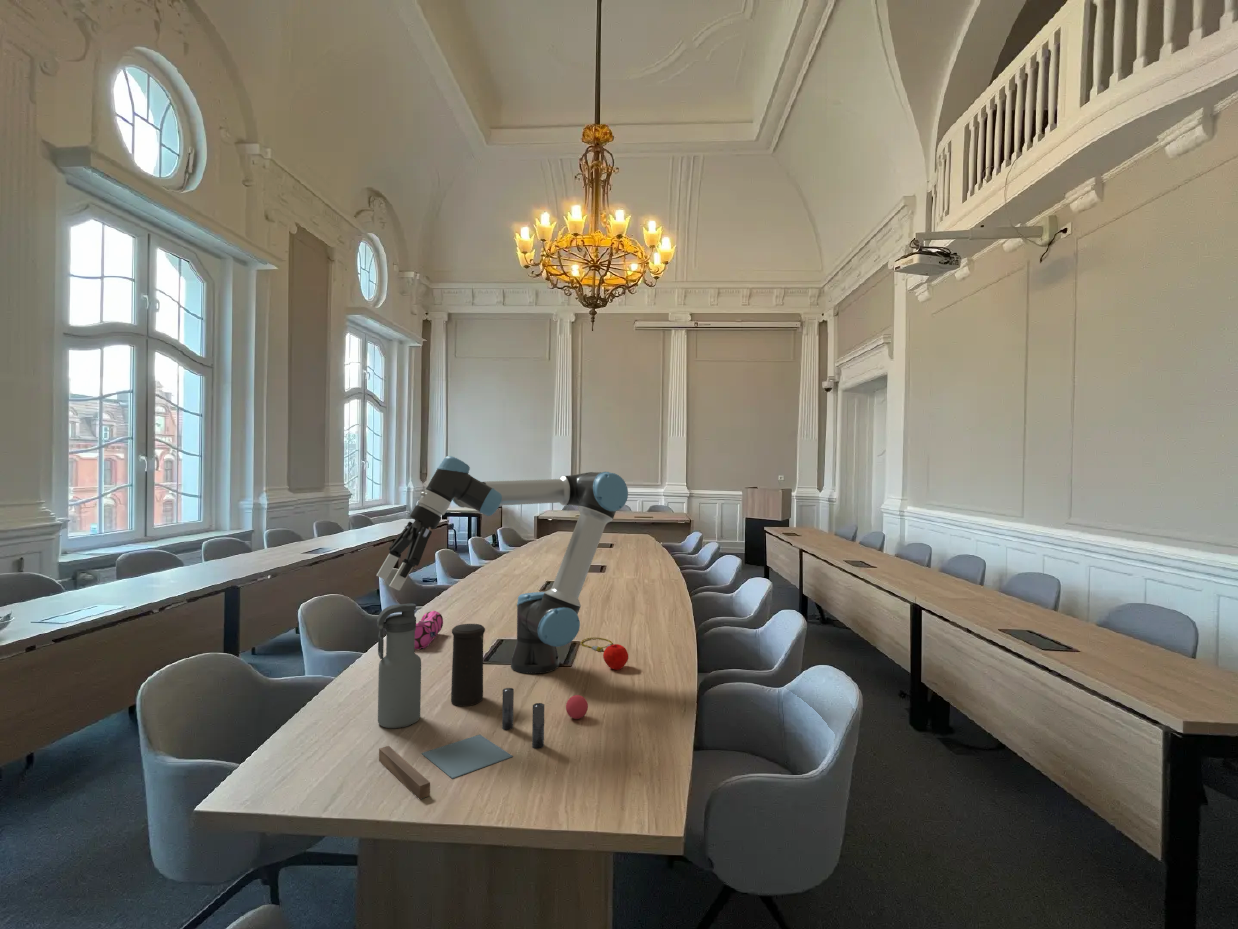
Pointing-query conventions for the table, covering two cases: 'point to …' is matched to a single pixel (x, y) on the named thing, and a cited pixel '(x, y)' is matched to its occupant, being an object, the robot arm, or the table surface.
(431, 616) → the pencil case
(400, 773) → the wall
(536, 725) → the post
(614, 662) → the apple
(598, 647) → the yellow cable loop
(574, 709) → the ball
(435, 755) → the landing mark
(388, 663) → the water bottle
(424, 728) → the table surface
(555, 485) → the robot arm
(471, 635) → the container
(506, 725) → the post
